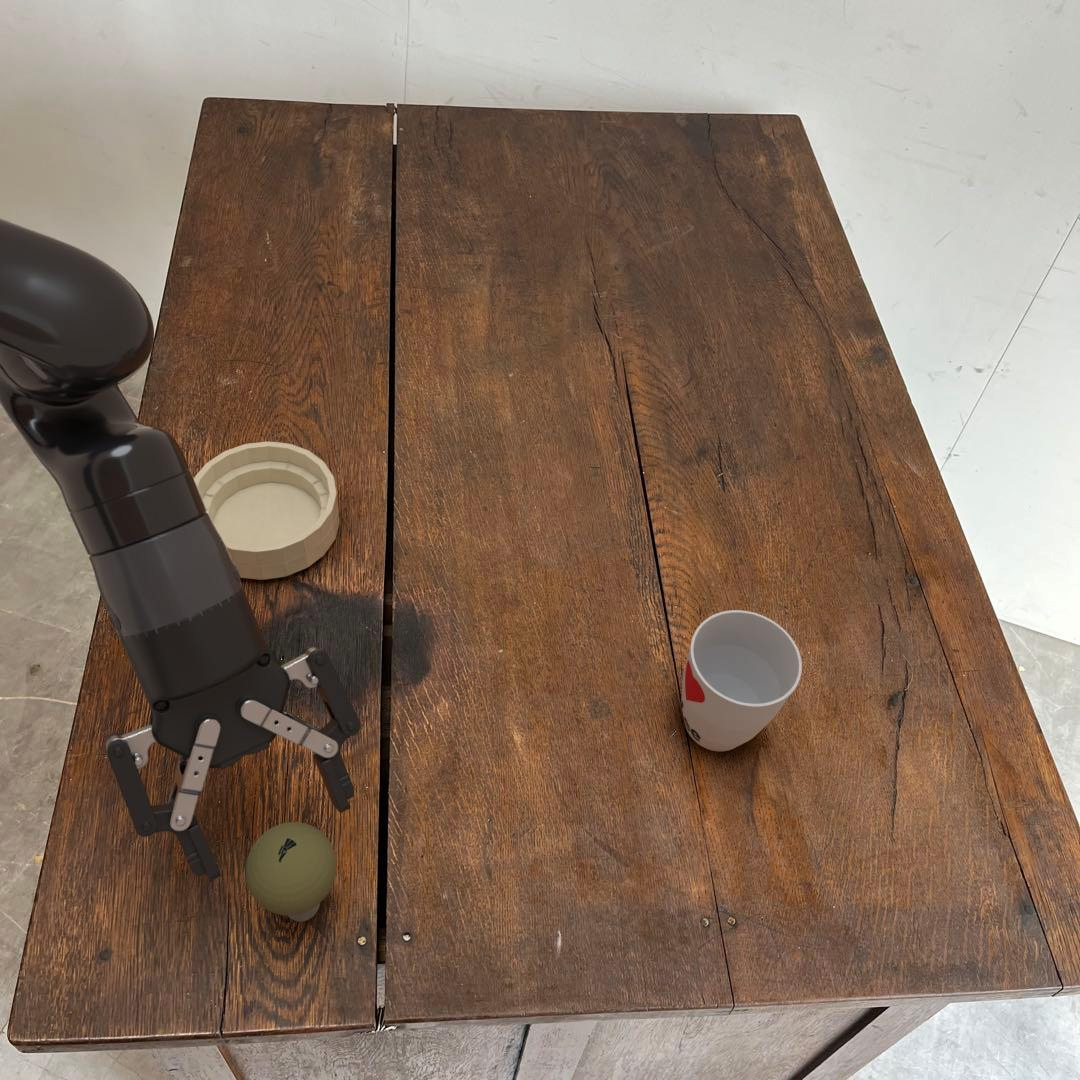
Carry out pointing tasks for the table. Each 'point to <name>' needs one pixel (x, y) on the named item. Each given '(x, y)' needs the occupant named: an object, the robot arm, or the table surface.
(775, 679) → the cup
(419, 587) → the table surface
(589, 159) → the table surface
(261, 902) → the light bulb
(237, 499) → the bowl
